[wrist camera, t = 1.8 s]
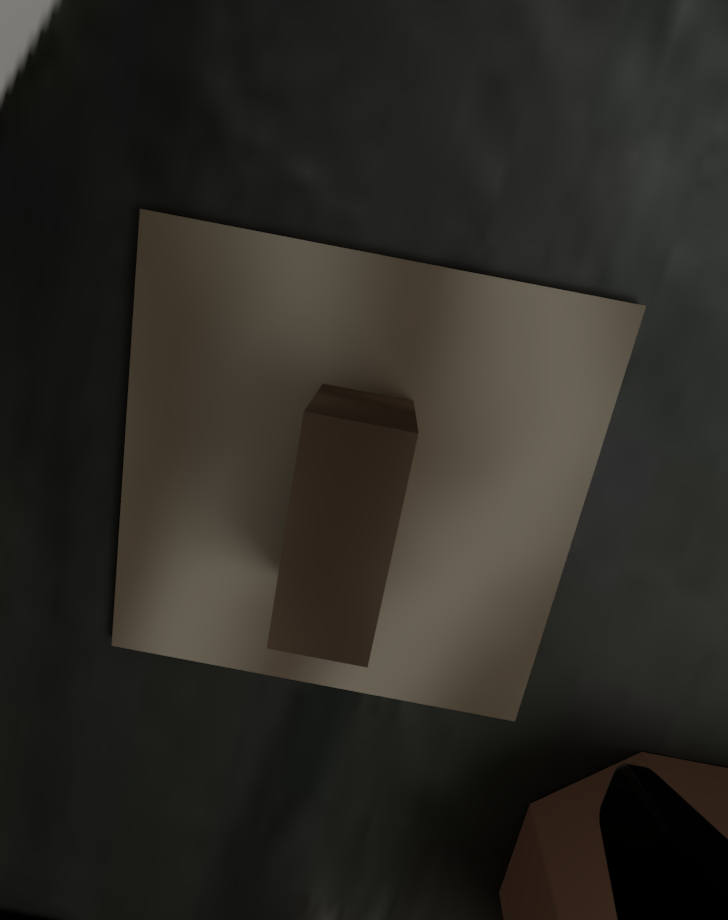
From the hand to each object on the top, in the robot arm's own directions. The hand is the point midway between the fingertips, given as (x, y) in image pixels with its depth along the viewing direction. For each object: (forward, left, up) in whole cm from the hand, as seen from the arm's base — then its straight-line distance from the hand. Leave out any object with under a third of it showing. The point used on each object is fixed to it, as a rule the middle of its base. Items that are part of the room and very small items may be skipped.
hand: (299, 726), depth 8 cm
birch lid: (0, 0, -10) cm, 10 cm away
